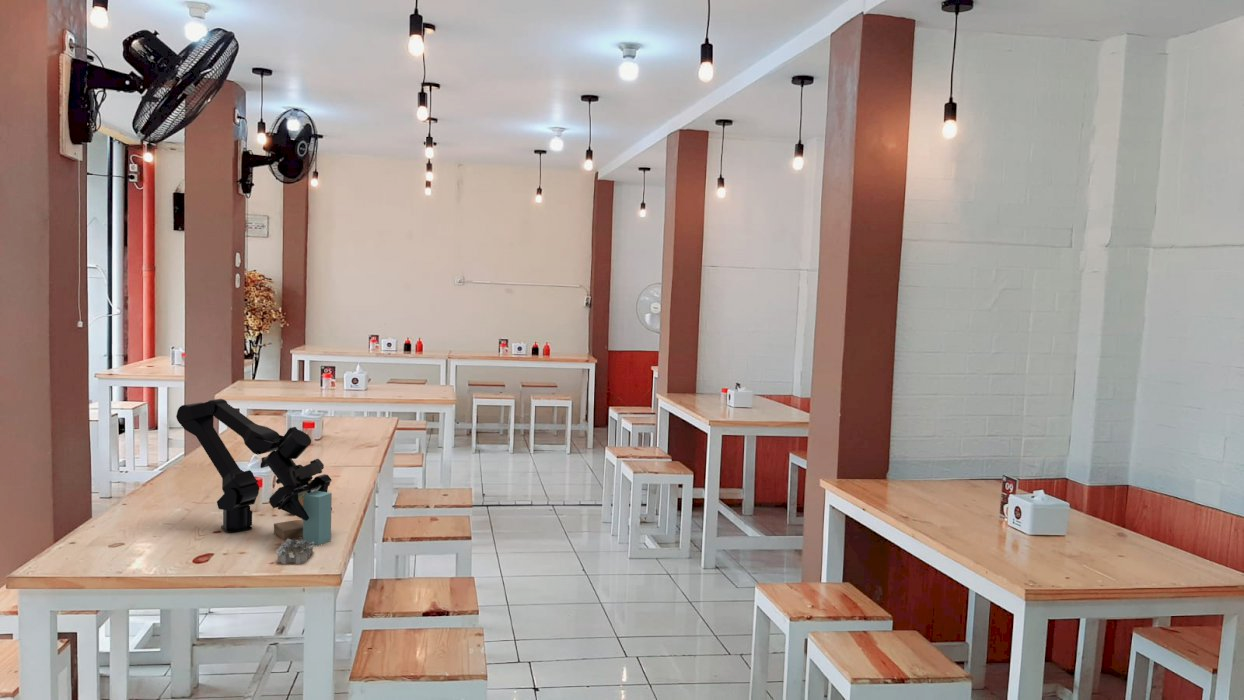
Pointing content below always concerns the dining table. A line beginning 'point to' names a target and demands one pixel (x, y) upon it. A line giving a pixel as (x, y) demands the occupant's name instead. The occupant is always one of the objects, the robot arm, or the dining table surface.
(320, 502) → the teal block
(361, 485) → the dining table surface
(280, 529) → the walnut plinth
